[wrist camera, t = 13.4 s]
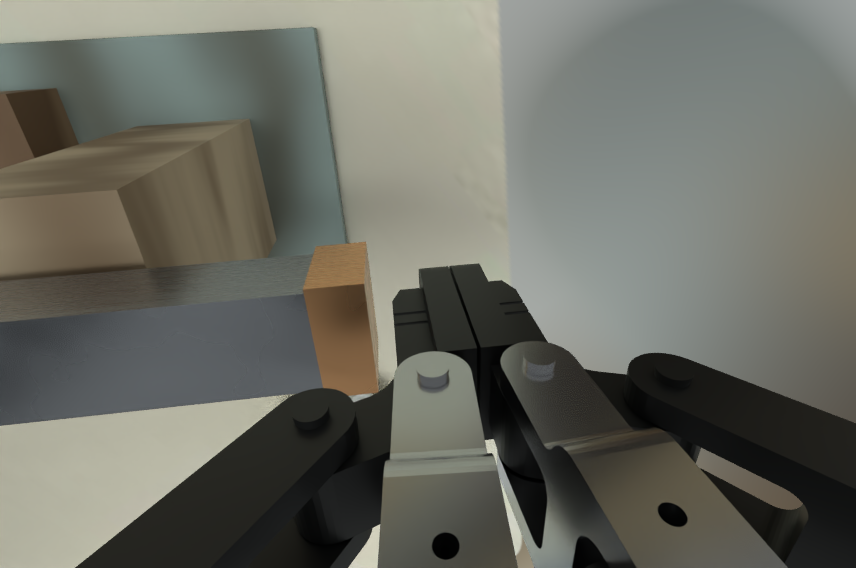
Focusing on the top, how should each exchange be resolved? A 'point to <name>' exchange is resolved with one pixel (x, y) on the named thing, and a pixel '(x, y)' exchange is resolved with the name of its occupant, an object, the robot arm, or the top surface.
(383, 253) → the top surface
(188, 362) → the bar
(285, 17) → the top surface
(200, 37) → the socket board
